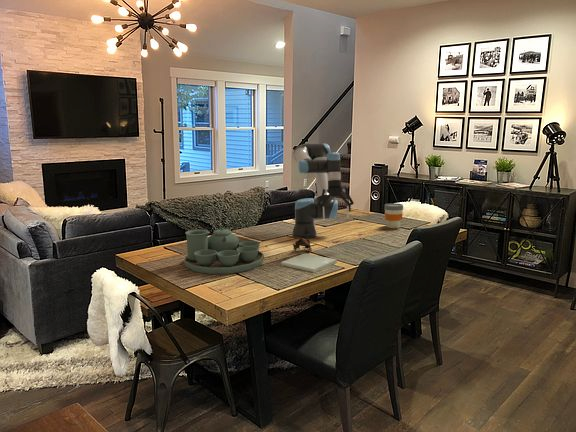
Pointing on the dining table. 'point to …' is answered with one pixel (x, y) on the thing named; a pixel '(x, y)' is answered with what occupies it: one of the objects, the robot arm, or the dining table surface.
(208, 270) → the tea set
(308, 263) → the sage tile
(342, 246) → the dining table surface
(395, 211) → the reusable coffee cup
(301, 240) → the pottery mug
